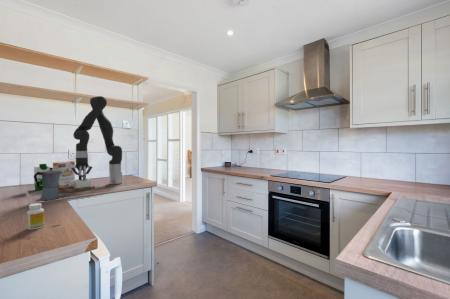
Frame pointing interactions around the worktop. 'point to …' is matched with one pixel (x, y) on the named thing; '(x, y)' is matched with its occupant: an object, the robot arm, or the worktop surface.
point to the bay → (72, 189)
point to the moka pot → (49, 184)
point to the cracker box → (65, 173)
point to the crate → (82, 182)
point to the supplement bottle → (35, 216)
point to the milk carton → (39, 177)
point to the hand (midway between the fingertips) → (82, 179)
